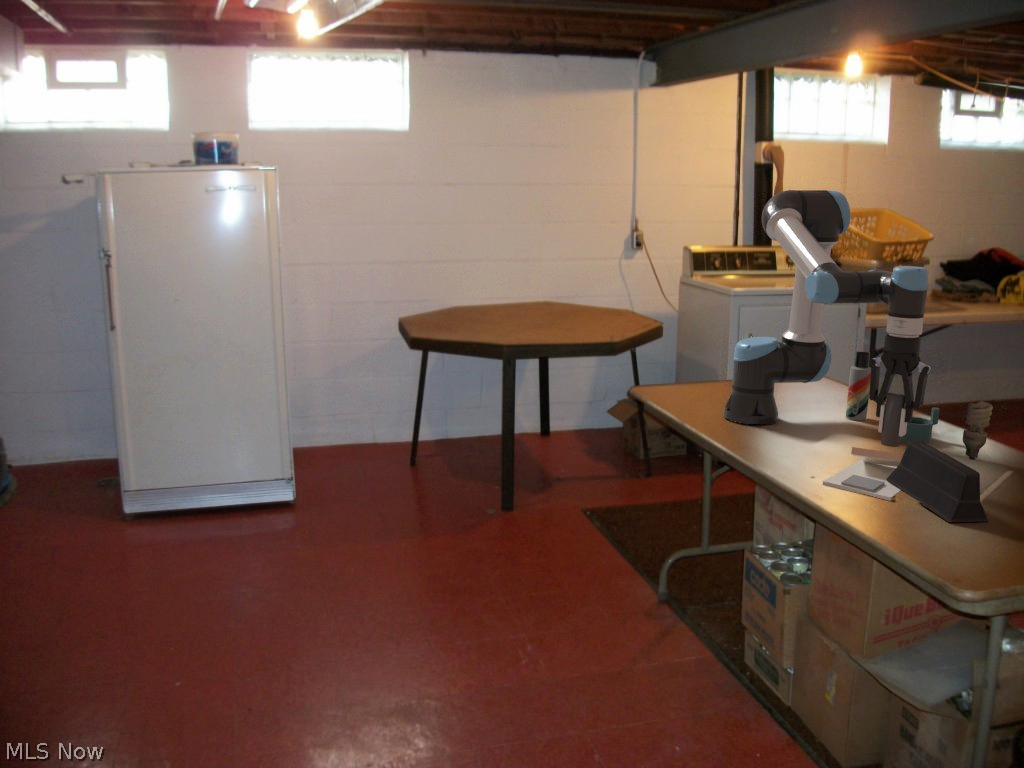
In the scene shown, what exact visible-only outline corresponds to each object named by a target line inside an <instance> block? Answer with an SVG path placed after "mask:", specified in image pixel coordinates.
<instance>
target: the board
mask: <svg viewBox="0 0 1024 768" xmlns="http://www.w3.org/2000/svg"><path fill="white" fill-rule="evenodd" d="M896 468H897V467H893V466H887V465H880V464H874V463H867V462H864V461H862V460H861V459H858V460H856V461H854V462H853V463H852V464H850V465H847V466H846V467H845V468H842V469H841V470H839V471H838V472H836V473H833V475H831V476H829V477H827V478H826V479H824V480H822V485H824V486H827V487H831V488H837V489H840V490H844V491H848V492H852V491H853V493H856V492H857V494H860V493H861V494H860V495H864V494H866V495H865V496H868V495H870V496H869V497H872V496H873V498H876V497H877V499H881V500H885V501H889V502H891V501H893V500H894V499H895V498H897V496H895V495H897V494H898V493H900V492H902V491H901V490H900V489H898V488H897V487H895V486H894V485H892V484H891V483H889V482H888V481H887V478H888V477H889V475H890V474H891V473H892V472H893V471H894V470H895V469H896Z"/></svg>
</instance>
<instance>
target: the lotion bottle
mask: <svg viewBox="0 0 1024 768" xmlns="http://www.w3.org/2000/svg"><path fill="white" fill-rule="evenodd" d="M870 357H871V352H869V351H868V352H867V351H858V350H857V351H855V355H854V364H853V365H852V366H850V368H849V369H850V370H849V377H848V378H849V380H848V381H849V382H848V388H847V396H846V397H847V398H846V399H847V400H846V407H845V409H846V410H845V418H846V419H847V420H850V421H855V420H856V421H857V422H862V421H866V420H867V415H868V410H869V409H868V408H869V400H870V399H869V393H870V378H871V367H870V364H869V360H870V359H871V358H870Z"/></svg>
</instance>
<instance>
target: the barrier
mask: <svg viewBox="0 0 1024 768" xmlns="http://www.w3.org/2000/svg"><path fill="white" fill-rule="evenodd" d="M980 477H981V476H980V472H979V471H977V470H975V469H973V468H971V467H970V466H968V465H966V464H964V463H962V462H961V461H960V460H957V459H956V458H954V457H952V456H950V455H948V454H947V453H944V452H943V451H940V450H939V449H937V448H936V447H933V446H932V445H930V444H929V443H925V442H923V441H909V442H907V444H906V447H905V449H904V452H903V457H902V459H901V462H900V464H899V465H898V467H897V468H896V469H895V470H894V471H893V472H892V473H891V474H890V475H889V477H888V478H887V481H888V482H889V483H891V484H892V485H894V486H895V487H897V488H898V489H900V490H901V491H900V492H903V493H904V494H907V495H908V496H909V497H911V498H913V499H914V500H917V501H918V503H919V504H921V505H923V506H924V507H926V508H927V509H928V510H930V511H931V512H932V513H934V514H936V515H937V516H939V517H940V518H942V519H943V520H945V521H946V522H947V523H969V522H971V523H975V522H978V523H979V522H981V523H982V522H989V519H988V517H987V515H986V512H985V509H984V508H983V505H982V503H981V483H980V482H981V478H980Z"/></svg>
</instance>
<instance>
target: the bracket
mask: <svg viewBox="0 0 1024 768" xmlns="http://www.w3.org/2000/svg"><path fill="white" fill-rule="evenodd" d="M939 417H940V407H931V413H930V419H929V418H925V417H920V416H919V417H918V416H912V421H911V422H909V423H908V422H907V429H906V434H905V435H904V436H901V439H900V441H903V442H906V443H908V442H909V441H923V442H925V443H926V444H929V443H931V441H932V434H933V433H932V432H933V426H935V425H938V424H939Z"/></svg>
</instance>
